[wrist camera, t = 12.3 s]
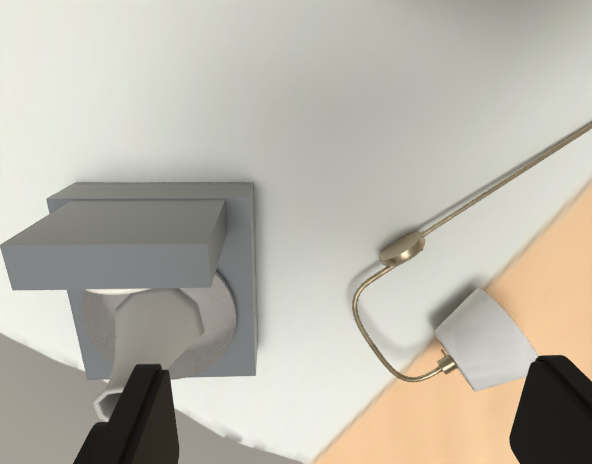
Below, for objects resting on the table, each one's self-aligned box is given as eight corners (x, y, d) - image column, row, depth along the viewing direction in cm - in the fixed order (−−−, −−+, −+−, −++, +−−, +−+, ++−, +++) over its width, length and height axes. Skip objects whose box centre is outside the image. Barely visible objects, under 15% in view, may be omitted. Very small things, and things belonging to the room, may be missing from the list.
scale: (253, 182, 37) (241, 241, 24) (257, 343, 44) (250, 458, 31) (75, 182, 36) (-37, 243, 23) (107, 346, 43) (34, 465, 30)
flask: (219, 333, 35) (199, 426, 26) (148, 364, 36) (105, 465, 27) (175, 268, 33) (136, 345, 23) (101, 302, 34) (34, 390, 24)
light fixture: (743, 203, 41) (413, 399, 46) (668, 55, 39) (327, 276, 43) (867, 215, 32) (440, 458, 37) (779, 22, 30) (334, 307, 34)
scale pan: (233, 245, 33) (231, 250, 32) (239, 370, 38) (238, 378, 37) (73, 246, 33) (67, 251, 32) (100, 373, 37) (95, 381, 37)
